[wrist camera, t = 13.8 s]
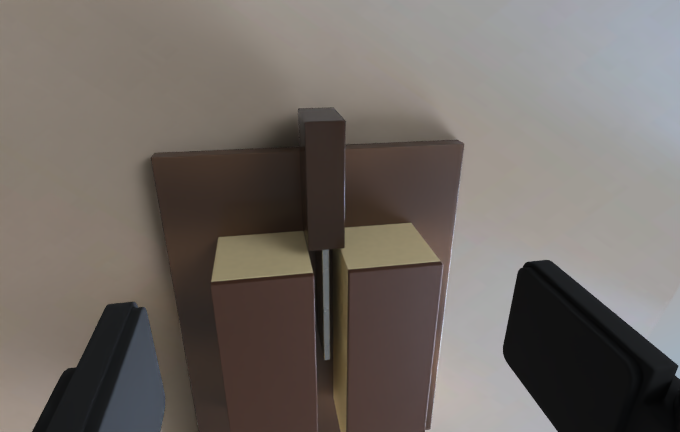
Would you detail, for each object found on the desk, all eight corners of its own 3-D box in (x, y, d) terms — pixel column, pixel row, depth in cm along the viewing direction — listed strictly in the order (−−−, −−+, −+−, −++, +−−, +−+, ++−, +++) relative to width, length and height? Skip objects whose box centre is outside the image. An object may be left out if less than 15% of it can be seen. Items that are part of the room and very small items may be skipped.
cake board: (154, 152, 25) (150, 157, 24) (457, 139, 28) (464, 143, 27) (205, 452, 35) (204, 463, 34) (426, 419, 38) (430, 429, 37)
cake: (218, 236, 27) (210, 285, 22) (411, 222, 28) (443, 264, 24) (239, 409, 32) (236, 479, 27) (398, 388, 34) (423, 449, 29)
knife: (297, 108, 24) (304, 121, 21) (334, 107, 25) (345, 120, 21) (306, 330, 30) (312, 366, 27) (334, 327, 31) (344, 362, 28)
